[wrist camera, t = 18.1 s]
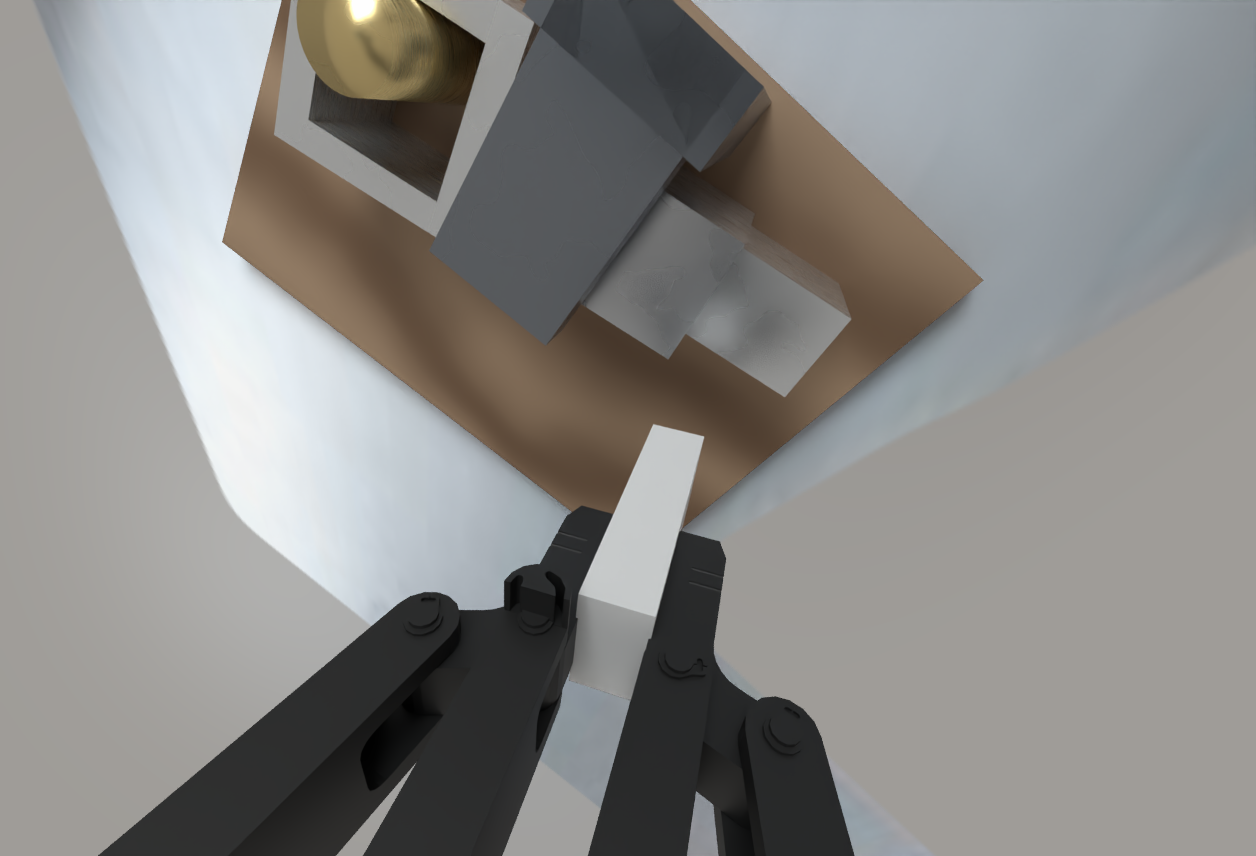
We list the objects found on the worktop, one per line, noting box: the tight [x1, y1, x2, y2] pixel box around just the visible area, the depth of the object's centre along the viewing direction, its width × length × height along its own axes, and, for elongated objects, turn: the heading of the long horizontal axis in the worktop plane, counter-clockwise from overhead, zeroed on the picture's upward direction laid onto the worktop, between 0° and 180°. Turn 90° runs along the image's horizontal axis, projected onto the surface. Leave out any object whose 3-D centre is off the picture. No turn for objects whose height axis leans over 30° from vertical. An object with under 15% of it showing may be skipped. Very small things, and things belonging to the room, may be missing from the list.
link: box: [274, 0, 851, 397], centre depth 18 cm, size 19×7×6 cm, turn 60°
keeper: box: [429, 0, 771, 346], centre depth 17 cm, size 8×5×9 cm, turn 142°
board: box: [222, 0, 983, 528], centre depth 23 cm, size 20×26×1 cm
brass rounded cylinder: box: [296, 0, 486, 106], centre depth 17 cm, size 3×3×8 cm
